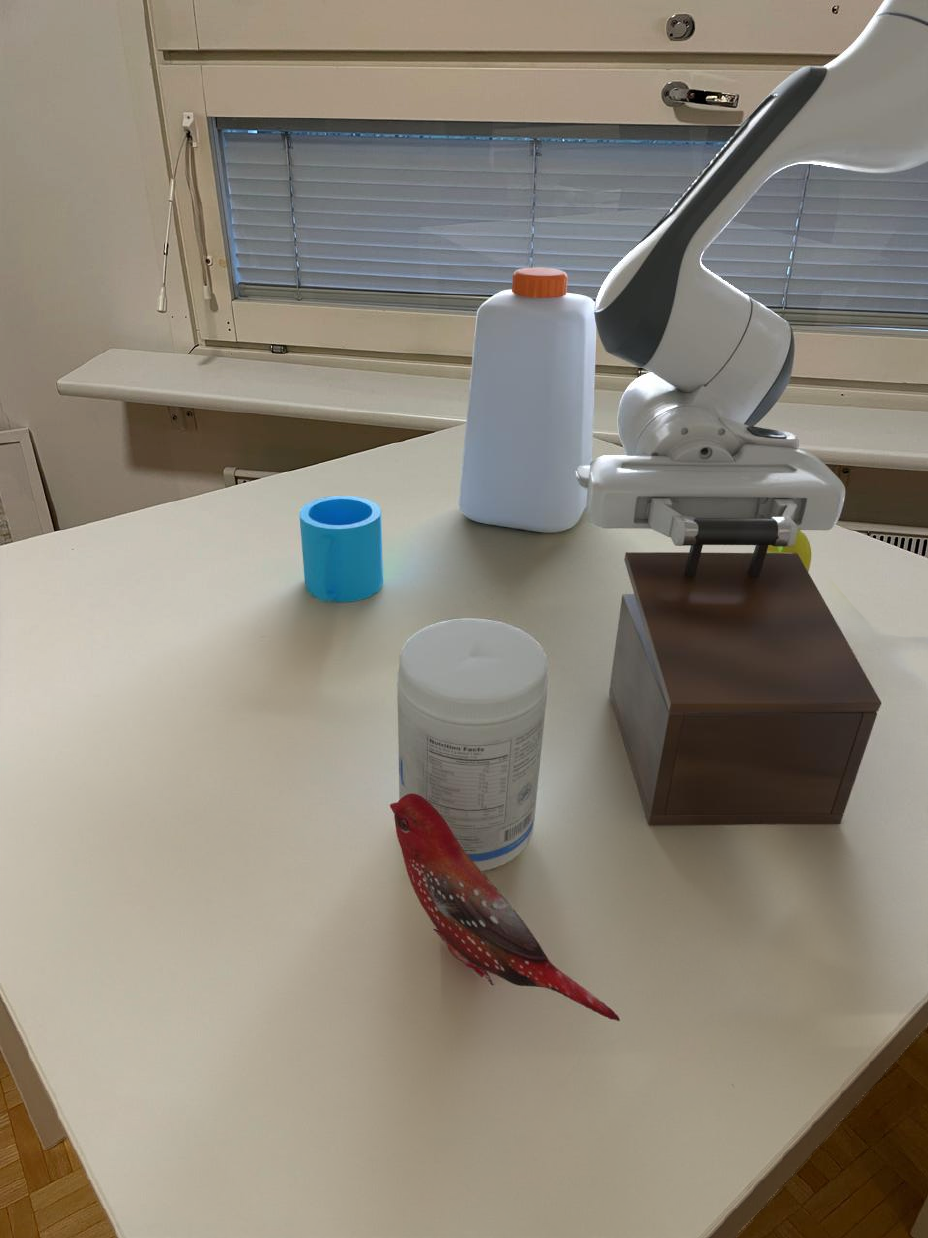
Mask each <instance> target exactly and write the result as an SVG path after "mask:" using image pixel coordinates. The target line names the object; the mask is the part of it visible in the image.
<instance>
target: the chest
mask: <svg viewBox="0 0 928 1238" xmlns="http://www.w3.org/2000/svg"><path fill="white" fill-rule="evenodd" d="M620 601H621V602H620V610H619V616H618V622H617V623H618V624H617V632H616V638H615V646H614V652H613V653H614V654H613V661H612V667H611V668H612V669H611V676H610V682H609V684H610V685H609V690H608V691H609V692H608V694H609V698H610V701H611V704H612V708H613V711H614V715H615V719H616V721H617V724H618V728H619V731H620V735H621V737H622V742H623V744H624V748H625V750H626V754H627V757H628V761H629V764H630V767H631V770H632V774H633V777H634V780H635V784H636V787H637V790H638V793H639V797H640V801H641V804H642V808H643V810H644V813H645V817H646V820H647V823H648V825H649V826H728V825H729V826H730V825H731V826H736V825H737V826H739V825H743V826H745V825H746V826H747V825H748V826H749V825H751V826H753V825H839V824H841V823H842V820H843V817H844V813H845V812H846V809H847V805H848V802H849V800H850V796H851V793H852V791H853V787H854V785H855V782H856V779H857V775H858V773H859V769H860V767H861V764H862V761H863V758H864V755H865V752H866V749H867V745H868V743H869V740H870V738H871V734H872V731H873V728H874V725H875V722H876V720H877V716H878V711H877V712H669V710H668V706H667V703H666V700H665V696H664V693H663V690H662V686H661V683H660V679H659V676H658V673H657V669H656V666H655V662H654V659H653V656H652V652H651V649H650V646H649V642H648V639H647V635H646V632H645V629H644V625H643V622H642V619H641V615H640V612H639V608H638V605H637V602H636V598H635V595H634V593H623V594H621V600H620Z"/></svg>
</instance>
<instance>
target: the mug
mask: <svg viewBox="0 0 928 1238" xmlns="http://www.w3.org/2000/svg"><path fill="white" fill-rule="evenodd" d="M298 515H299V529H300V538H301V553H302V564H303V577H304V586H305V589H306V591H307V592H308V593H309V595H311V596H312V597H314V598H316V599H317V600H319V601H321V602H323V603H328V602H330V603H350V602H357V601H360V600H364V599H365V600H366V599H368V598H370V597H372V596H373V595H375V594H377V593H378V592H379V591H380V590H381V589H382V587H383V583H384V567H383V566H384V565H383V563H384V562H383V531H382V530H383V529H382V526H383V525H382V509H381V507H380V505H379V504H377V503H376V502H375V501H374V500H370V499H368V498H365V497H360V496H354V495H332V496H325V497H321V498H316V499H314V500H312V501H309V502H307V503H306V504H305V505H303V506H302V507H301V508H300V510H299V513H298Z"/></svg>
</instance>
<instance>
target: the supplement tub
mask: <svg viewBox="0 0 928 1238" xmlns="http://www.w3.org/2000/svg"><path fill="white" fill-rule="evenodd" d="M396 676H397V678H396V679H397V681H396V682H397V683H396V685H397V686H396V689H397V692H396V694H397V697H396V699H397V701H396V702H397V737H398V742H397V743H398V801H399V800H400V799H401V798H402V797H403V796H405V795H407V794H411V793H413V794H417V795H420V796H422V797H423V798H425V799H426V800H427V801H428V802H429V803H430V804H431V805H432V806H433V807H434V808H435V809H436V810H437V811H438V813H439V814H440V815H441V816H442V817H443V819H444V820H445V821H446V823H447V824H448V826H449V828H450V829H451V831H452V833H453V834H454V836H455V838H456V840H457V841H458V843H459V844H460V846H461V847H462V849H463V850H464V851H465V853H466V854H467V855H468V856H469V857H470V859H471V860H472V861H473V862H474V863H475V865H476V866H477V867H478V868H479V869H480V870H481V872H483V871H489V870H492V869H495V868H498V867H501V866H503V865H505V864H507V863H509V862H510V861H512V860H513V859H515V858H517V857H518V855H519V854H520V853H521V852H522V851H523V850H524V849H525V848H526V846H527V845H528V843H529V841H530V839H531V837H532V834H533V832H534V828H535V819H536V808H537V807H536V806H537V800H538V799H537V798H538V790H539V789H538V788H539V779H540V769H541V760H542V759H541V758H542V750H543V749H542V748H543V738H544V729H545V719H546V708H547V697H548V684H549V676H548V658H547V655H546V652H545V650H544V648H543V647H542V645H541V644H540V643H539V642H538V641H537V640H536V639H535V638H534V637H533V636H532V635H530V634H529V633H527V632H526V631H524V630H522V629H521V628H518V627H516V626H513V625H512V624H511V625H510V624H508V623H504V622H502V621H497V620H491V619H485V618H476V617H475V618H473V617H472V618H469V617H468V618H454V619H449V620H443V621H439V622H436V623H432V624H430V625H427V626H425V627H423V628H421V629H420V630H417V631H416V632H415V633H413V634H412V635H411V636H410V637H409V638H408V639H407V640H406V641H405V643H404V644H403V646H402V648H401V650H400V653H399V659H398V668H397V674H396Z"/></svg>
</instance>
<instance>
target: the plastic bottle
mask: <svg viewBox="0 0 928 1238" xmlns="http://www.w3.org/2000/svg"><path fill="white" fill-rule="evenodd" d="M568 277H569V276H568V275H567V273H566V272H565V271H564V270H561V269H557V268H550V267H523V268H522V267H521V268H518V269H516V270H515V271H514V272H513V273H512V281H511V282H512V283H511V289H505V290H501V291H499V292H498V293H496V294H494V295H492V296H491V297H490V298H488V299H487V300H485V301H484V302H483V303H481V304H480V306H479V307H478V308H477V311H476V318H475V327H474V336H473V337H474V338H473V348H472V356H471V357H472V358H471V370H470V378H469V388H468V398H467V399H468V400H467V410H466V419H465V420H466V421H465V430H464V431H465V432H464V442H463V452H462V463H461V471H460V472H461V473H460V483H459V492H458V507H459V510H460V511H461V513H462V514H463V515H464V516H465V517H466V518H467V519H469V520H471V521H474V522H476V523H479V524H484V525H492V526H497V527H502V528H503V527H504V528H510V529H515V530H516V529H518V530H524V531H531V532H536V533H545V534H547V533H548V534H551V533H553V534H555V533H560V532H564V531H567V530H570V529H572V528H573V527H574V526H576V525H577V524H578V523H579V521H580V520H581V517H582V515H583V513H584V512H585V509H586V501H587V489H586V488H584V487H582V486H580V485H579V484H578V481H577V478H576V475H575V472H576V470H577V468H578V467H579V466H588V465H590V463H591V462H592V461H593V443H594V442H593V441H594V415H595V414H594V413H595V411H594V410H595V384H596V382H595V381H596V353H597V352H596V351H597V350H596V349H597V346H596V345H597V327H596V322H595V316H594V304H595V300H593V299H592V298H591V297H589V296H587V295H583V294H577V293H572V292H571V293H570V292H567V290H568V279H569V278H568Z"/></svg>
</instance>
